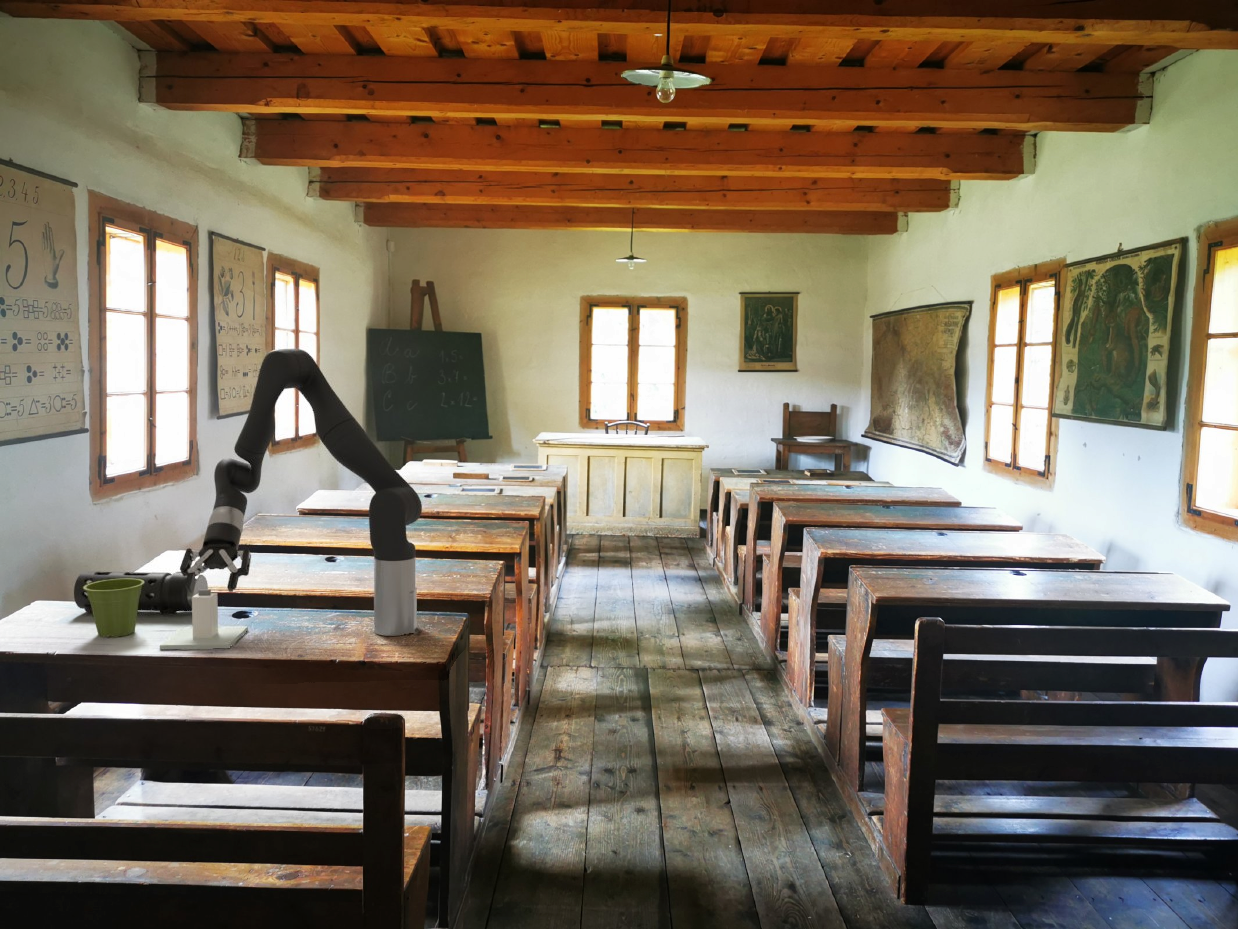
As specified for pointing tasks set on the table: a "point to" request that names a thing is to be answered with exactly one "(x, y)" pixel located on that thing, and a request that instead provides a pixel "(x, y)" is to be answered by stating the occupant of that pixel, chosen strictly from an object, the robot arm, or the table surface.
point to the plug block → (205, 614)
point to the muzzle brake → (147, 590)
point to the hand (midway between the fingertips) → (209, 590)
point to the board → (220, 640)
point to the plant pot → (114, 605)
